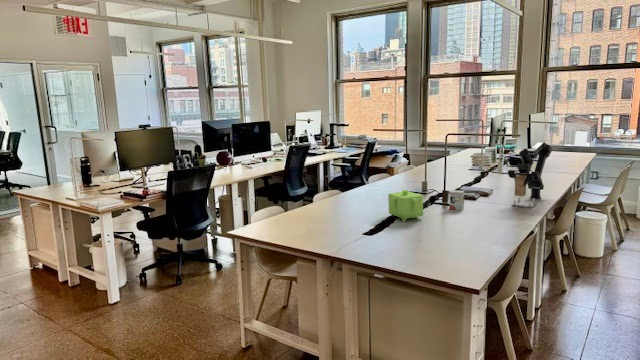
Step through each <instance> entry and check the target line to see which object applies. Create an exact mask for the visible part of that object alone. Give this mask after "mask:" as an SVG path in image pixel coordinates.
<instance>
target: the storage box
mask: <svg viewBox="0 0 640 360" xmlns="http://www.w3.org/2000/svg"><path fill="white" fill-rule="evenodd" d="M387 196H388V213H389V215H392V216H393V217H394V216H397V217H399V218H398V219H400V220H401V219H402V220H407V221H408V219H413V218H418V217H424V196H423V194H421V193H415V192H412V191H409V190H407V189H406V190H405V189H404V190H402V191H399V192H392V193H388V195H387ZM418 219H419V218H418Z"/></svg>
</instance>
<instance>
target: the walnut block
mask: <svg viewBox="0 0 640 360" xmlns="http://www.w3.org/2000/svg"><path fill="white" fill-rule="evenodd" d="M526 178H527V175H516V177H515V179H514V196H516V197H523V198H524V197H525V196H527V195H526V193H527V190H526V189H527V185H526V186H524V183H525V180H526Z"/></svg>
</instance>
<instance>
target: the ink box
mask: <svg viewBox="0 0 640 360" xmlns="http://www.w3.org/2000/svg"><path fill="white" fill-rule="evenodd" d="M448 199H449V203H448V204H449V209H448V210H455V211H463V210H464V209H465V191H464V190H458V189H456V190H455V189H452V190H450V191H449V198H448Z"/></svg>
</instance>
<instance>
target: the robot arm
mask: <svg viewBox="0 0 640 360" xmlns="http://www.w3.org/2000/svg"><path fill="white" fill-rule="evenodd" d="M552 150H553V149H552V146H551V145H550V144H548V143H546V142H545V141H537V142H536V144H535V145H534V146H532V147H531V148H523V149H521V150H520V151H519V152H518V154H519V155H518V156H519V157H520V160H521V161H522V163H517V165H516V166H517V168H516V169H517V170H518V171H516V170H514V169H509V170H508V171H507V176H508V177H509V178H510V179H514V180H515V177H516V175H527V178H526V180H525V183H524V186H526V187H527V188H528V189H530V195H529V196H530V197H529V198H530V199H533V198H535V199H541V197H542V196H541V191H542V190H544V188H545V185H544V183H543V178H542V174H543V171H544V167H545V164H546V159H547V158H549V157H550V155H551V153H552V152H553V151H552ZM536 158H537V161H536V164H535V167H534V168H535V169H534V171H532V166H533V165H534V160H533V159H536Z"/></svg>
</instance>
